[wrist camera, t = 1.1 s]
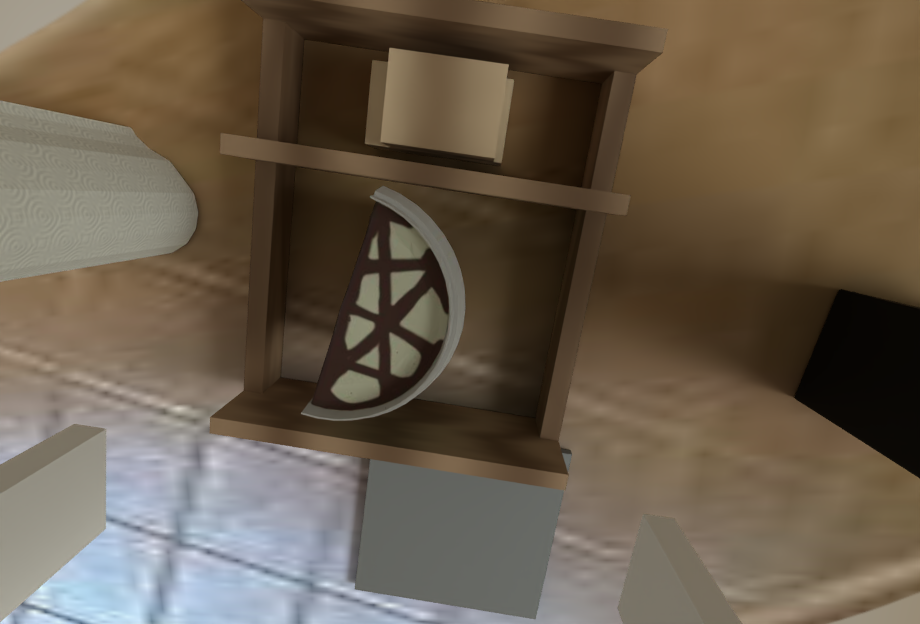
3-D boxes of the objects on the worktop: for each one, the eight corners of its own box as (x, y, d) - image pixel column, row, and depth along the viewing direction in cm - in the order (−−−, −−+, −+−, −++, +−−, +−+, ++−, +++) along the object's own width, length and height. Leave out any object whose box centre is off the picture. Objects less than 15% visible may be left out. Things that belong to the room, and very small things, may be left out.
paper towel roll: (184, 269, 33) (-312, 383, 13) (100, 229, 33) (-550, 278, 12) (219, 170, 32) (-280, 114, 11) (132, 127, 32) (-553, -15, 11)
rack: (625, 68, 29) (668, 28, 23) (549, 433, 35) (565, 490, 28) (285, 18, 30) (226, -37, 23) (263, 387, 35) (209, 433, 28)
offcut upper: (505, 78, 27) (508, 64, 24) (493, 162, 28) (494, 158, 25) (399, 63, 27) (389, 47, 25) (390, 147, 28) (380, 141, 26)
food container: (433, 390, 35) (413, 465, 25) (350, 360, 34) (297, 423, 25) (497, 223, 32) (503, 233, 22) (408, 189, 32) (373, 184, 22)
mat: (570, 450, 35) (571, 454, 34) (534, 612, 38) (535, 619, 38) (376, 419, 35) (374, 422, 35) (356, 583, 38) (354, 589, 38)
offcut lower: (511, 91, 30) (514, 79, 27) (499, 166, 31) (501, 163, 28) (382, 73, 30) (372, 59, 27) (375, 148, 31) (364, 143, 28)
